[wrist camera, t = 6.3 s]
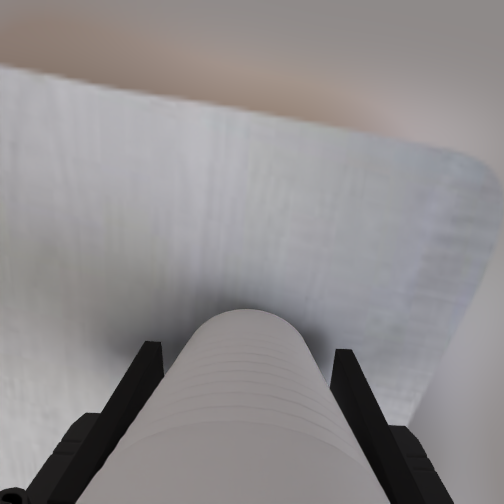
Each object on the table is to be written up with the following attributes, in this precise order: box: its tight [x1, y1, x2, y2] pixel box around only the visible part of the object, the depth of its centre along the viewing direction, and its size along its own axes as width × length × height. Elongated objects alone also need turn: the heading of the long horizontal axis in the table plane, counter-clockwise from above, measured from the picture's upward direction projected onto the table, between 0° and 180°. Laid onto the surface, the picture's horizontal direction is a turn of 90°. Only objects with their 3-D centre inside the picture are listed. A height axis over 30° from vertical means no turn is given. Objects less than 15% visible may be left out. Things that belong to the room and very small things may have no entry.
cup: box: [75, 309, 390, 504], centre depth 9 cm, size 10×10×11 cm
